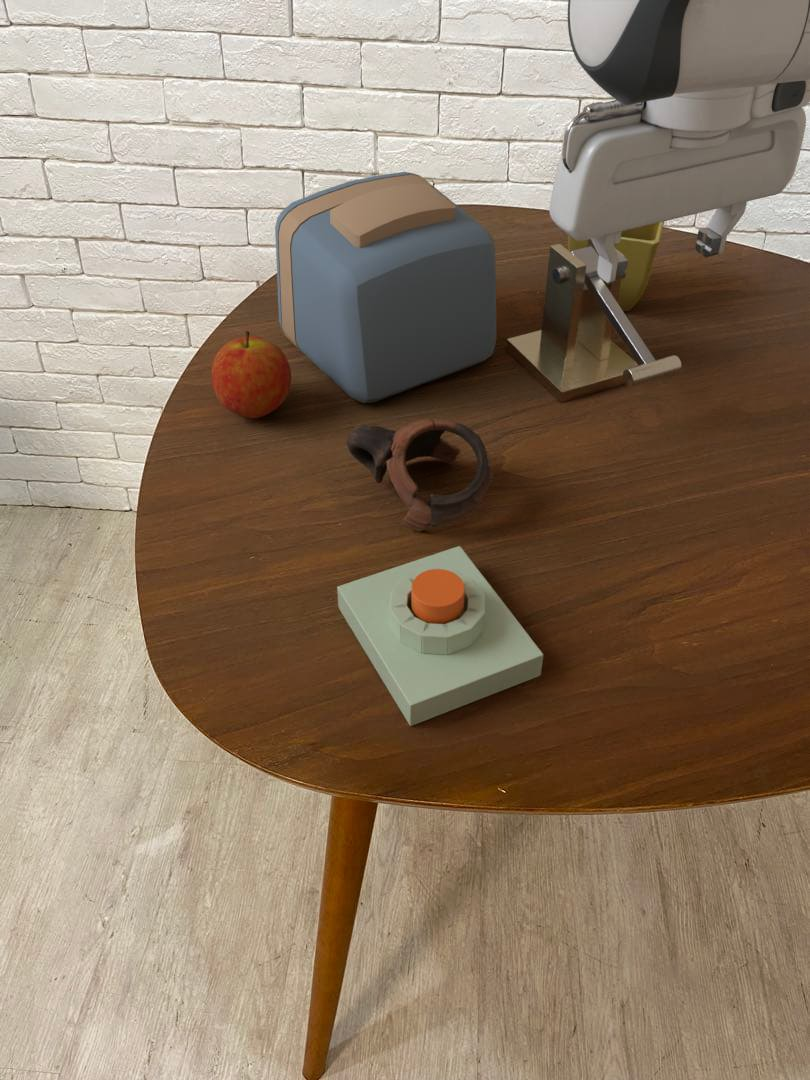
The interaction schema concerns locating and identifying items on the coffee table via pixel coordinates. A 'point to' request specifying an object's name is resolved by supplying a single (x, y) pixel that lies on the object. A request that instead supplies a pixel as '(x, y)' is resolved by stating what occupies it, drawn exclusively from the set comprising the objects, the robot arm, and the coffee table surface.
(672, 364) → the lever
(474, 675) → the button block
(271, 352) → the fruit
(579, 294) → the bracket
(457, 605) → the button
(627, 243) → the flower pot
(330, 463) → the coffee table surface
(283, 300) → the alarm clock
